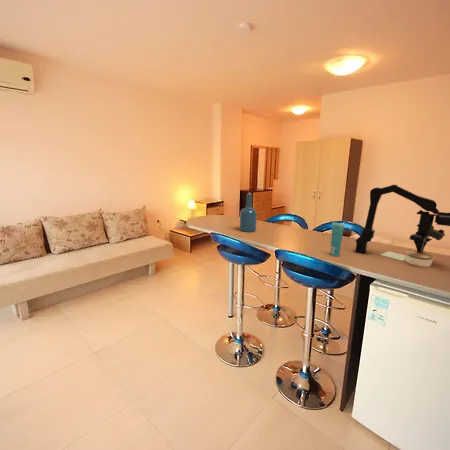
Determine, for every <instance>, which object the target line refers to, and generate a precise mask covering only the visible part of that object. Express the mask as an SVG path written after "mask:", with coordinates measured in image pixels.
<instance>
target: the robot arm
mask: <svg viewBox="0 0 450 450" xmlns="http://www.w3.org/2000/svg"><path fill="white" fill-rule="evenodd" d="M391 193H394V194H396V195H398V196H401V197H403V198H405V199H406V200H409V201H410V202H413V203H415V204H416V205H417V206H418V207H420V208H421V209H420V210H419V211H417V212H416V215H420V217H419V222H418V224H417V225H416V226H417V231H416V232H415V233H413V234H411V235H410V236H409V240H410V241H413V242H414V245H415V247H416V250H417V251H418V252H420V251H421V249H422V247H423V245H425V246H424V248H425V247H426V245H427V244H428V242H431V241H432V240H433V239H435V240H437V241H441V240H442V239H443V238H444V237H445V235H446V233H445V230H443V229H435V226H434V225H433V224H434V223H436V226H437V225H438V226H446V227H450V212H445V211H443V212H442V211H440V210H439V209H438V208H437V202H436V201H435V200H433V199H431V198H427V197H425V196H419V195H417V194H416V193H413V192H412V191H409V190H408V189H404V188H403V187H400V186H398V184H392V185H388V186H385V187H377V186H376V187H373V188H372V189H371V190H370V193H369V206H368V207H369V208H368V212H367V217H366V221H365V226H364V228H363V230H362V232H361V234H360V236H359V237H357V239H355V243H356V244H355V250H353V251H352V252H354V253H357V254H360V255H365V254H369V252H368V251H367V247H368V243H369V242H371V240H372V239H373V238H374V237H375V233H376V230H375V229H374V223H375V219H376V214H377V209H378V206H379V202H380V200H381V198H382V196H383V195H386V194H391ZM430 212H431V213H430ZM430 237H431V238H430Z"/></svg>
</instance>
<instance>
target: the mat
mask: <svg viewBox="0 0 450 450" xmlns="http://www.w3.org/2000/svg"><path fill="white" fill-rule="evenodd" d="M380 256H384V257H387V258H390V259H395V260H398V261H402V262H403V261H405V257H406V254H401V253H397V252H393V251H386V252H383V253H381V254H380Z"/></svg>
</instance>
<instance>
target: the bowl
mask: <svg viewBox="0 0 450 450" xmlns="http://www.w3.org/2000/svg"><path fill="white" fill-rule="evenodd" d="M405 255H406V257H405V260H404V261H405V262H406V263H407V264H411V265H414V266H418V267H426V268H427V267H431V266H432V265H433V260H434V259H433V258H420V257H415V256H412V255H409V254H407V253H406V254H405Z"/></svg>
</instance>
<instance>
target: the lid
mask: <svg viewBox="0 0 450 450" xmlns="http://www.w3.org/2000/svg"><path fill="white" fill-rule="evenodd" d="M424 246H425V245H423V247H422V249H421V251H420V252H418V251H417V249H407V250H406V254H409V255H412V256H415V257H420V258H432V259H433V258H434V254H432V253H431V252H427V251H425V247H426V246H425V247H424Z"/></svg>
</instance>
